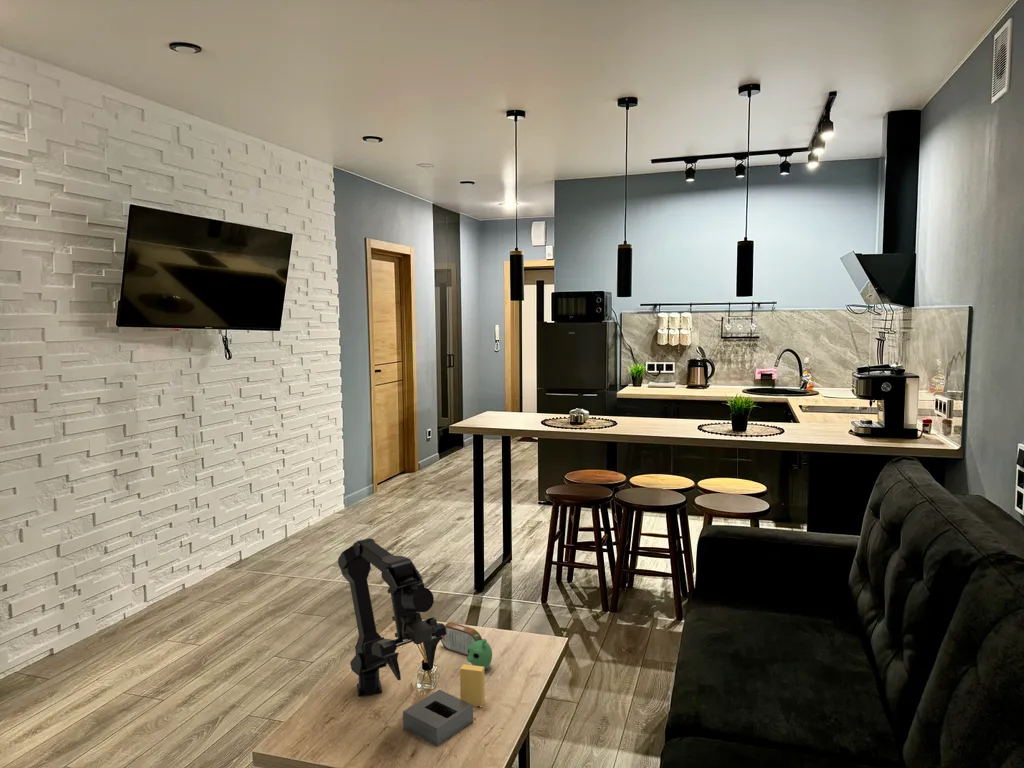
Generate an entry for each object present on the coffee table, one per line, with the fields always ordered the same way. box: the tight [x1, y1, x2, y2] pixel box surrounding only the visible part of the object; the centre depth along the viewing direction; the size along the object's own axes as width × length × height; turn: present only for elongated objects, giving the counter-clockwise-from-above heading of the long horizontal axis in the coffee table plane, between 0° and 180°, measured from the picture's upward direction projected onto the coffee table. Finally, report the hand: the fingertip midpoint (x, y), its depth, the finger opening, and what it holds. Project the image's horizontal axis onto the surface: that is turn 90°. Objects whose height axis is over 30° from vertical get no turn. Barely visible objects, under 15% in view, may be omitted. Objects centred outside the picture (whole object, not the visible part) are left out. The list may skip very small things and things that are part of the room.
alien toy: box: [466, 634, 493, 670], centre depth 206 cm, size 7×8×10 cm
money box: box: [402, 689, 474, 747], centre depth 178 cm, size 12×13×4 cm
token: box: [459, 663, 486, 707], centre depth 188 cm, size 6×2×10 cm, turn 76°
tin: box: [440, 621, 483, 656], centre depth 216 cm, size 15×3×8 cm, turn 58°
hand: (415, 674), depth 174 cm, fingers open, 9 cm apart
